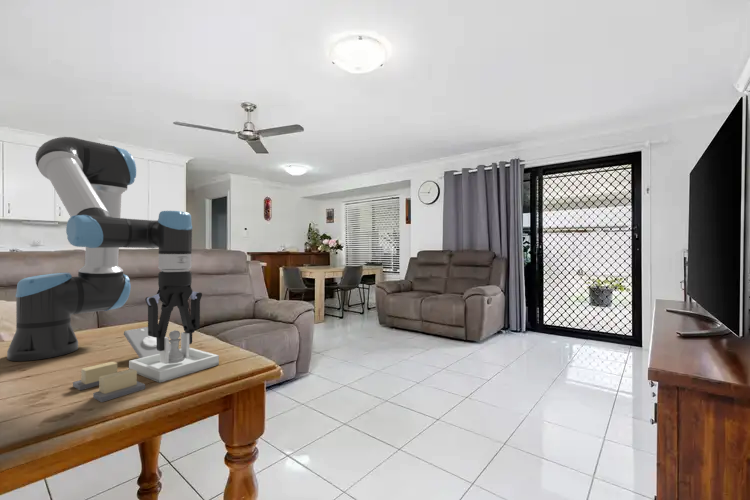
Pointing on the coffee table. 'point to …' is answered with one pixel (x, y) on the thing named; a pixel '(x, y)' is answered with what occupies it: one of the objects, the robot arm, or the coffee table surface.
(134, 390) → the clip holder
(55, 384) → the coffee table surface
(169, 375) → the parts tray
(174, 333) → the chess piece
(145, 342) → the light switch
